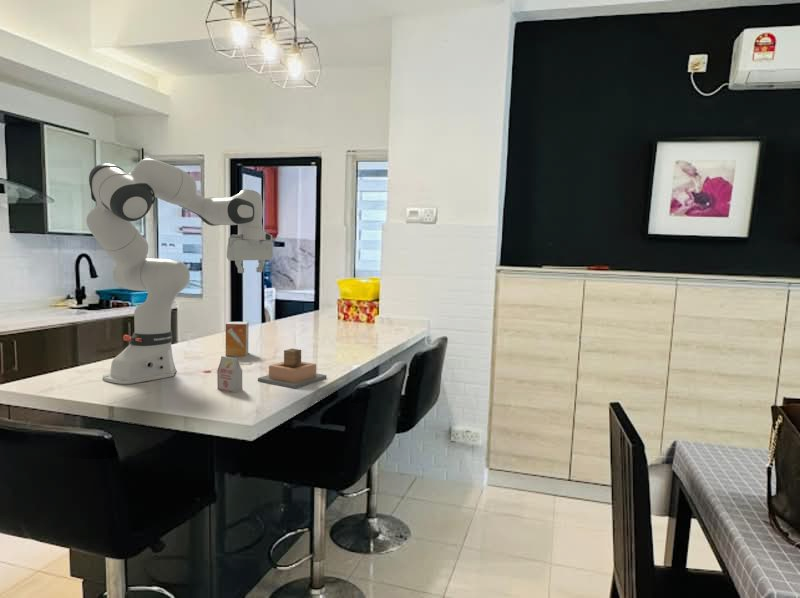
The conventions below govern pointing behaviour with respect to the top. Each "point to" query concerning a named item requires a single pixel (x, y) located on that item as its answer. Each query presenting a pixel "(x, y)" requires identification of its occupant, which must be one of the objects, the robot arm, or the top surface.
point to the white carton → (229, 375)
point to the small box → (237, 338)
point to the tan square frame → (292, 375)
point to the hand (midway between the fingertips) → (250, 272)
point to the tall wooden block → (292, 358)
